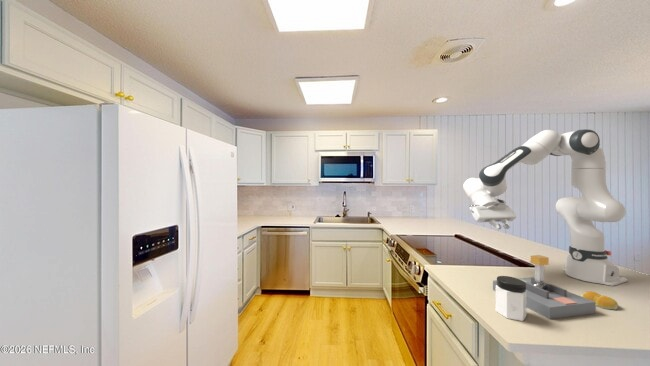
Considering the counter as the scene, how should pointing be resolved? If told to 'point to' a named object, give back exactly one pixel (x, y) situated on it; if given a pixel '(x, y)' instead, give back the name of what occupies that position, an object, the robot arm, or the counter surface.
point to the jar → (511, 298)
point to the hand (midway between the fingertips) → (503, 228)
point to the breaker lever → (540, 270)
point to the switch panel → (555, 301)
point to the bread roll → (601, 300)
